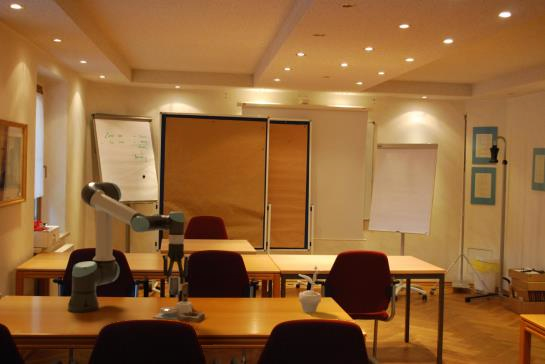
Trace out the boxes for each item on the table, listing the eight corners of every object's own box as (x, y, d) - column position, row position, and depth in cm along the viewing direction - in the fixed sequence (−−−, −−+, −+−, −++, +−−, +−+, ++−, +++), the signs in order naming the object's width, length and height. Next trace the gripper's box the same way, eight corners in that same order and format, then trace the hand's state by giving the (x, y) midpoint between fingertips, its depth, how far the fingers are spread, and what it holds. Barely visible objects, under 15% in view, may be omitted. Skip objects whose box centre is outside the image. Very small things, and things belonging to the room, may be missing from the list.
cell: (169, 294, 274) (169, 276, 274) (172, 292, 278) (172, 275, 278) (177, 295, 273) (177, 277, 273) (180, 293, 277) (181, 275, 277)
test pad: (157, 313, 273) (157, 310, 273) (164, 309, 282) (164, 306, 282) (174, 315, 271) (174, 311, 271) (181, 310, 280) (181, 307, 280)
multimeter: (193, 313, 284) (194, 274, 284) (175, 311, 286) (176, 272, 286) (202, 306, 299) (204, 269, 298) (185, 304, 301) (186, 268, 300)
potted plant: (323, 311, 298) (325, 264, 297) (315, 315, 287) (317, 267, 287) (301, 308, 303) (303, 262, 303) (293, 312, 292) (295, 265, 292)
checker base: (153, 317, 272) (153, 316, 272) (162, 312, 284) (162, 311, 284) (176, 320, 269) (176, 319, 269) (185, 314, 281) (185, 313, 281)
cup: (175, 316, 277) (176, 304, 277) (180, 313, 283) (180, 301, 283) (187, 317, 276) (187, 305, 276) (191, 314, 282) (191, 302, 281)
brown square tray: (178, 320, 269) (178, 316, 269) (185, 315, 279) (185, 311, 279) (197, 322, 267) (197, 318, 267) (204, 317, 277) (204, 313, 277)
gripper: (156, 243, 273) (155, 290, 274) (190, 244, 270) (188, 292, 270) (162, 241, 281) (161, 287, 281) (195, 243, 277) (194, 289, 277)
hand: (175, 290), depth 275 cm, fingers closed on cell, 4 cm apart
